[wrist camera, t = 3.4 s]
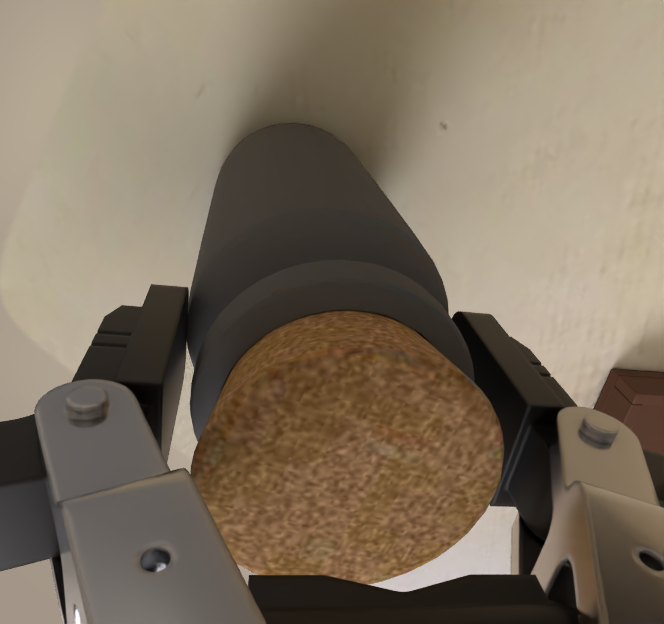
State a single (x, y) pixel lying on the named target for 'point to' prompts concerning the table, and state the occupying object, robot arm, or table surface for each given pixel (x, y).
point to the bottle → (329, 372)
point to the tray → (636, 405)
